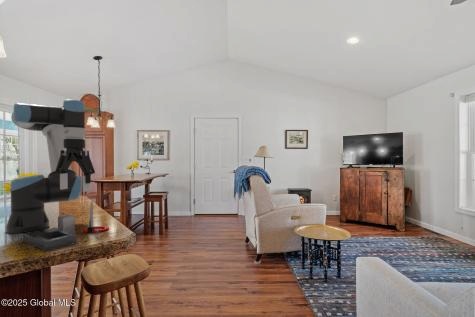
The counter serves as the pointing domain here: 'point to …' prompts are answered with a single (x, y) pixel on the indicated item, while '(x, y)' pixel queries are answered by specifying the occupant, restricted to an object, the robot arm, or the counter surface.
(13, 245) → the counter surface
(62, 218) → the block
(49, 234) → the dark grey tray
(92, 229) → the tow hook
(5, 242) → the counter surface
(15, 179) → the robot arm
